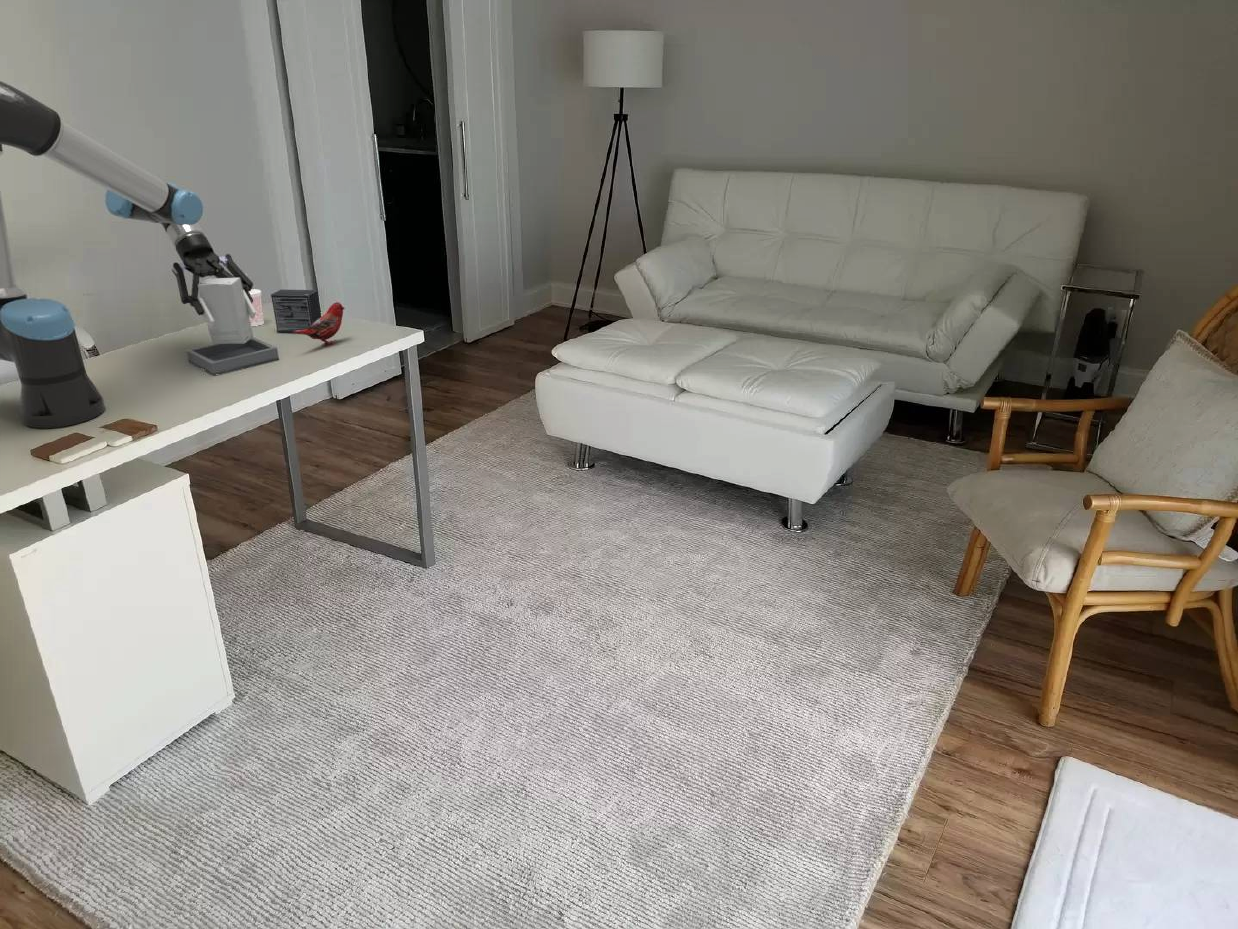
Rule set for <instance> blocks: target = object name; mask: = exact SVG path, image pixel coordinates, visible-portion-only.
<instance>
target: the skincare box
mask: <svg viewBox="0 0 1238 929" xmlns="http://www.w3.org/2000/svg"><path fill="white" fill-rule="evenodd" d="M198 289H199V290H198V294H199V296H200V297H199V298H202V299H203V301H204V302H205V304H206V306H207V308H208V310H209V312H210V313H211V315H212V317H213V319H214V324H213V327H211V328H209V326H208V324H207V323H206V325H207V328H208V332H209V336H210V340H211V345H212V344H244V343H246V342H247V341H248V340H250V339H251V338H253V337H254V333H253V328H252V327H251V323H250V318H249V314H248V310H247V305H246V301H245V297H244V292H243V288H242V284H241V279H240V278H217V277H215V278H214V277H213V278H211V277H209V278H208V277H207V278H205V280H203V281H201V282H199V284H198Z"/></svg>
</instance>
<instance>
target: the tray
mask: <svg viewBox="0 0 1238 929" xmlns="http://www.w3.org/2000/svg"><path fill="white" fill-rule="evenodd" d="M186 355H187V360H188V363H189V362H191V363H192V364H191V363H190V364H191V365H193V364H194V365H193V366H195V367H197V368H198V369H201V368H202V369H204V370H205V371H204V370H203V371H204V372H206V371H207V372H206V373H208V374H209V375H212V374H213V375H212V376H214V375H216V374H220V375H223V373H224V374H228V373H230V372H231V371H232V372H235V371H234V370H236V371H239V370H238V369H240V370H242V369H241V368H244V369H247V368H252V367H255V366H259V365H263V363H264V364H267V362H268V363H271V362H275V361H279V360H280V359H279V358H280V357H279V352H278V347H275V346H273V345H272V344H269V343H267V342H265V341H262V340H260V339H258V338H256V337H254V336H253V338H251V339H250V340H248V341H247V342H246V343H244V344H212V343H211V344H209V345H208V344H207V345H204V346H199V347H195V348H191V349H186ZM202 369H201V370H202ZM227 372H228V373H227ZM216 376H217V375H216Z"/></svg>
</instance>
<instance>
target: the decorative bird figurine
mask: <svg viewBox="0 0 1238 929" xmlns="http://www.w3.org/2000/svg"><path fill="white" fill-rule="evenodd" d="M344 310H345V307H344V306H343V305H342V303H340V302H338V301H336V302H334V303H333V304H331V305H330V306H329V308H328V309H327V311H326V313H324V314H323V315H321V318H319V319H318V320H316V321H315V322H314V323H313V324H312V325H310V326H309V328H308V329H305V330H298V331H292V333H291V334H300V335H306V336H308V337H310V338H311V339H313V340H320V341H322V342H323V343H322V344H321V346H322V347H325V346H327V345H331V344H333V343H335V342H336V341H338V340H337V339H334V340H330V341H328V340H329V339H331V338H332V337H334V336H335V335H336V334H337V333H338V332H339V330H340V327H341V325H342V321H343V317H344V316H343V315H344Z"/></svg>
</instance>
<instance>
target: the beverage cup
mask: <svg viewBox="0 0 1238 929" xmlns="http://www.w3.org/2000/svg"><path fill="white" fill-rule="evenodd" d="M244 274H245V275H246V276H247V277H248V274H247V272H246V273H244ZM249 293H250V295H251V297H252V298H253V303H252V305H253V307H254V309H255V310H256V314H255V317H254V318H253V319H251V318H250V316H249V318H250V323H251V326H256V327H259V326H258V325H261V326H263V325H264V324H265V322H264V314H263V306H262V305H263V304H262V290H261V289H258V288H257V289H256V288H255V289H254V288H252V289H251V291H249Z"/></svg>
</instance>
